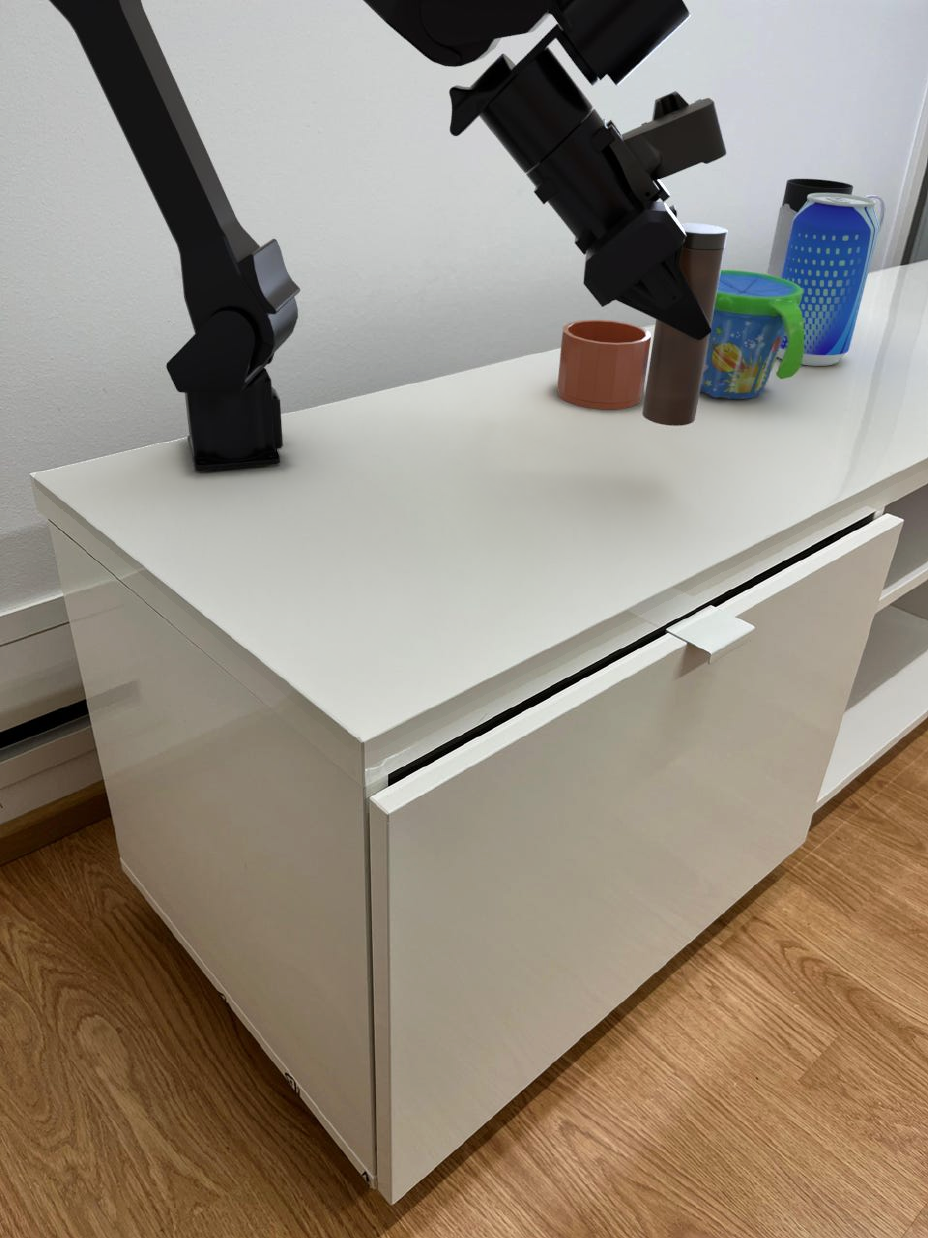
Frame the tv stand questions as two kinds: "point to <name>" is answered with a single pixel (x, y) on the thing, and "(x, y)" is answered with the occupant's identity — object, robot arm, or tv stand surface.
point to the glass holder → (791, 206)
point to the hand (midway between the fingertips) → (703, 327)
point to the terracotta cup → (603, 364)
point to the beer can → (830, 270)
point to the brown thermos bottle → (675, 351)
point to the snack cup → (752, 334)
